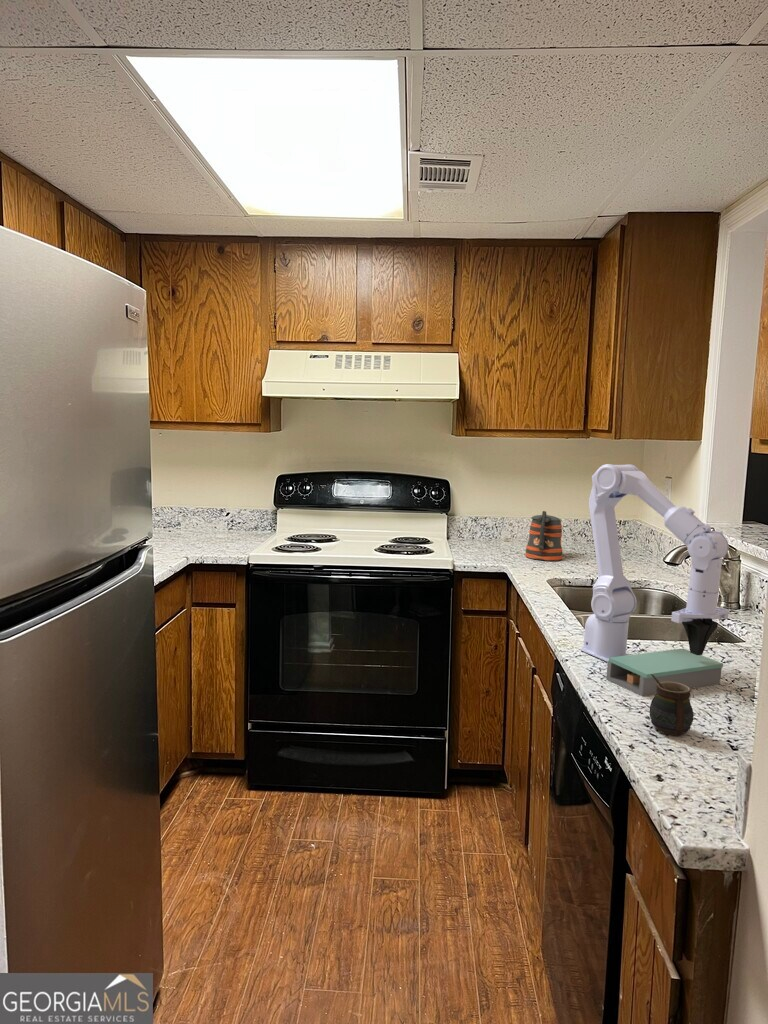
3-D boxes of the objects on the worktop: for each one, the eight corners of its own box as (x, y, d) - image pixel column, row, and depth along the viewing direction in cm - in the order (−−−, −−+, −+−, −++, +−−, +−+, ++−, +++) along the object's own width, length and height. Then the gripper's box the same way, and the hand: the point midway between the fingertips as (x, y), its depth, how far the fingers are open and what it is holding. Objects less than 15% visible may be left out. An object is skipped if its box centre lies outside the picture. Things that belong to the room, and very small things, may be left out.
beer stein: (561, 565, 281) (566, 513, 279) (523, 561, 285) (527, 510, 282) (562, 556, 300) (566, 508, 297) (525, 553, 303) (529, 505, 301)
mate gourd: (700, 739, 125) (705, 683, 124) (657, 739, 124) (662, 682, 123) (680, 722, 132) (685, 668, 131) (639, 721, 132) (644, 668, 130)
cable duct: (604, 678, 154) (605, 660, 153) (679, 667, 163) (681, 651, 163) (642, 696, 144) (644, 677, 144) (719, 684, 154) (721, 666, 154)
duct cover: (608, 661, 153) (608, 657, 153) (682, 651, 162) (683, 648, 162) (646, 678, 144) (646, 674, 143) (722, 667, 153) (723, 663, 153)
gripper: (694, 596, 145) (686, 663, 147) (744, 592, 151) (736, 656, 153) (666, 588, 151) (659, 652, 153) (715, 585, 158) (708, 646, 159)
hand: (696, 653), depth 153 cm, fingers closed
